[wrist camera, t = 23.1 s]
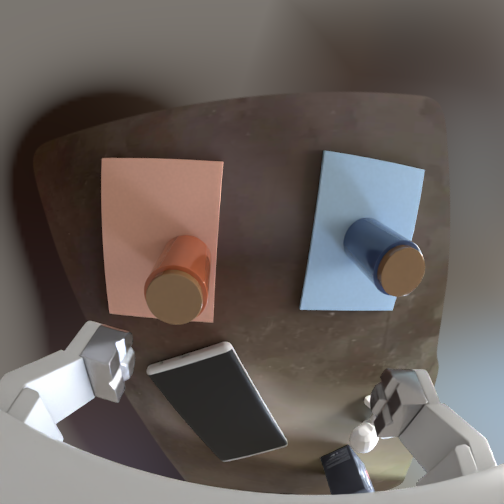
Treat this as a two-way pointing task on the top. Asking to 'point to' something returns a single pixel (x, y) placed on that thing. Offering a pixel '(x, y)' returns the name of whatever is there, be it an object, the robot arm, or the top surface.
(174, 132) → the top surface
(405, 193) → the blue mat
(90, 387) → the robot arm
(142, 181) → the clay mat
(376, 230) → the blue jar
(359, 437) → the white sheep figurine
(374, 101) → the top surface
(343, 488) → the small box
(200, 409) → the smartphone
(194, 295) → the terracotta jar
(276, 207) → the top surface
